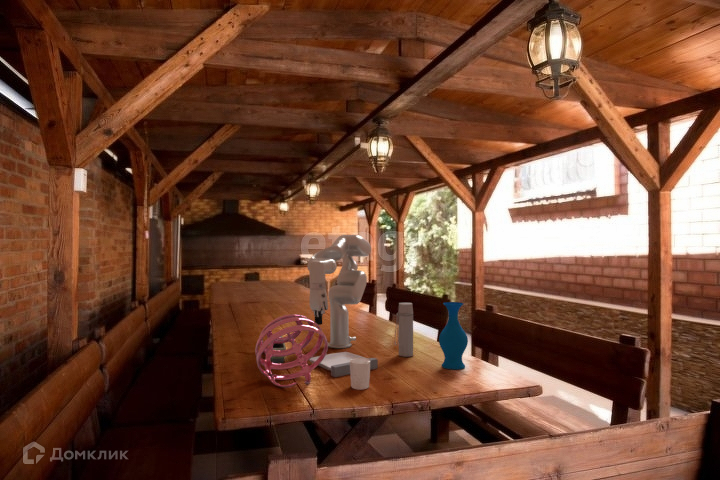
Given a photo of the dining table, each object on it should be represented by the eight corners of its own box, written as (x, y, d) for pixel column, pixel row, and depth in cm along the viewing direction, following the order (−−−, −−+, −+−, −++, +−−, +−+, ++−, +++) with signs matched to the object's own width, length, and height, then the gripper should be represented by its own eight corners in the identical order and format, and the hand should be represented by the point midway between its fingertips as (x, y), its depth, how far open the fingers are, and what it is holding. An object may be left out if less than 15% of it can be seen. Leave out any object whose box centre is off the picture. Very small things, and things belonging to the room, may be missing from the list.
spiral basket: (335, 341, 168) (313, 292, 189) (258, 366, 161) (243, 312, 181) (339, 388, 186) (318, 338, 206) (270, 412, 178) (255, 358, 198)
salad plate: (306, 364, 211) (306, 357, 211) (345, 357, 224) (345, 350, 224) (332, 376, 194) (332, 367, 194) (373, 367, 207) (373, 359, 207)
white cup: (349, 384, 182) (349, 358, 182) (369, 383, 183) (369, 357, 183) (350, 390, 175) (350, 363, 175) (371, 390, 175) (371, 363, 175)
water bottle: (415, 354, 229) (415, 302, 228) (411, 358, 221) (411, 305, 221) (396, 352, 232) (396, 301, 231) (392, 356, 224) (392, 304, 224)
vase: (433, 365, 209) (433, 302, 209) (457, 362, 214) (457, 300, 214) (449, 372, 198) (448, 305, 198) (473, 369, 203) (473, 304, 203)
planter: (286, 363, 213) (286, 347, 213) (270, 364, 211) (270, 348, 211) (282, 349, 239) (282, 335, 239) (267, 350, 238) (267, 336, 238)
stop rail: (373, 366, 207) (373, 357, 207) (377, 368, 204) (377, 359, 204) (331, 375, 194) (330, 365, 194) (334, 377, 191) (334, 367, 191)
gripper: (332, 287, 220) (333, 326, 221) (316, 283, 232) (317, 320, 233) (319, 288, 215) (319, 328, 216) (303, 285, 227) (303, 323, 228)
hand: (318, 324), depth 224 cm, fingers closed
